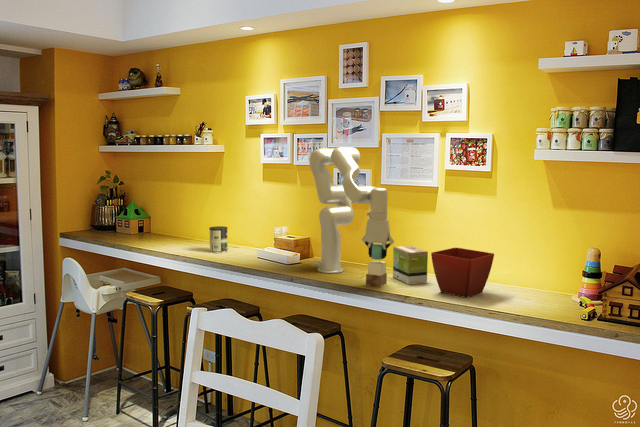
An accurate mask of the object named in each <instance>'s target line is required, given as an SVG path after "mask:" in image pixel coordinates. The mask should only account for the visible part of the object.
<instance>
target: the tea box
mask: <svg viewBox="0 0 640 427" xmlns="http://www.w3.org/2000/svg"><path fill="white" fill-rule="evenodd" d="M392 249H393V252H392V254H393V255H392V256H393V257H392V278H394V279H396V280H399V281H400V282H403V283H405V284H406V283H408V284H407V285H414V284H413V283H420V284H426V283H428V261H429V260H428V259H429V257H428V253H429V252H428V250H424V249H421V248H420V247H419V248H418V247H416V246H413V245H403V246H393V248H392Z"/></svg>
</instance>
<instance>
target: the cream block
mask: <svg viewBox="0 0 640 427" xmlns="http://www.w3.org/2000/svg"><path fill="white" fill-rule="evenodd" d="M385 273H387V262H386V261H380V260H372V261H370V262H368V263H367V274H370V275H378V276H381V275H383V274H385Z"/></svg>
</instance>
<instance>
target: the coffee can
mask: <svg viewBox="0 0 640 427" xmlns="http://www.w3.org/2000/svg"><path fill="white" fill-rule="evenodd" d="M228 249H229V248H228V226H220V225H219V226H210V227H209V252H210V253H212V254H223V253H228V252H229V251H228Z"/></svg>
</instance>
